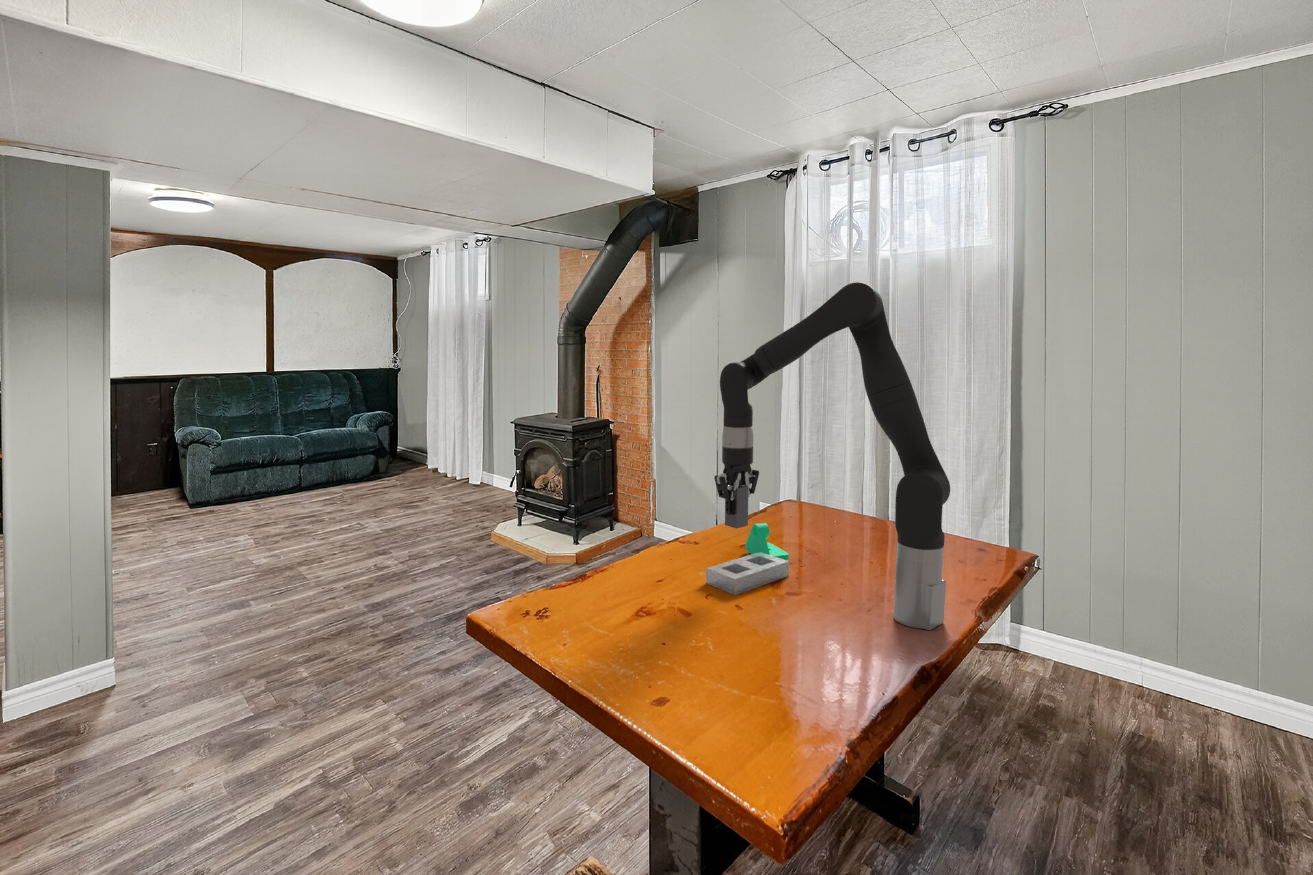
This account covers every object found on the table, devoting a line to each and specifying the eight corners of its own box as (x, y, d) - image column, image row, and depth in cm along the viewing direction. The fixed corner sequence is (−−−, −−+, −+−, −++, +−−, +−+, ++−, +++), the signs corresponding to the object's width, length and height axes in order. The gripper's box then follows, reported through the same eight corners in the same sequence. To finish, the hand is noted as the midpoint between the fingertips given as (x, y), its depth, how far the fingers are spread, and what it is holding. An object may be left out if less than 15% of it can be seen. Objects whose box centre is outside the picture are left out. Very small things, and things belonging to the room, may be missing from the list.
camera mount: (789, 563, 173) (790, 527, 172) (765, 566, 171) (765, 530, 169) (768, 550, 184) (768, 516, 183) (745, 553, 182) (745, 519, 181)
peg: (747, 525, 156) (748, 486, 154) (736, 528, 153) (737, 488, 152) (736, 522, 159) (736, 483, 157) (724, 525, 156) (725, 485, 155)
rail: (788, 575, 163) (788, 561, 162) (734, 595, 151) (735, 579, 150) (759, 565, 171) (759, 551, 170) (706, 583, 158) (706, 568, 158)
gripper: (728, 449, 146) (727, 521, 148) (768, 443, 154) (767, 511, 157) (705, 445, 151) (705, 514, 154) (746, 440, 160) (745, 505, 163)
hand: (736, 512), depth 155 cm, fingers closed on peg, 4 cm apart
